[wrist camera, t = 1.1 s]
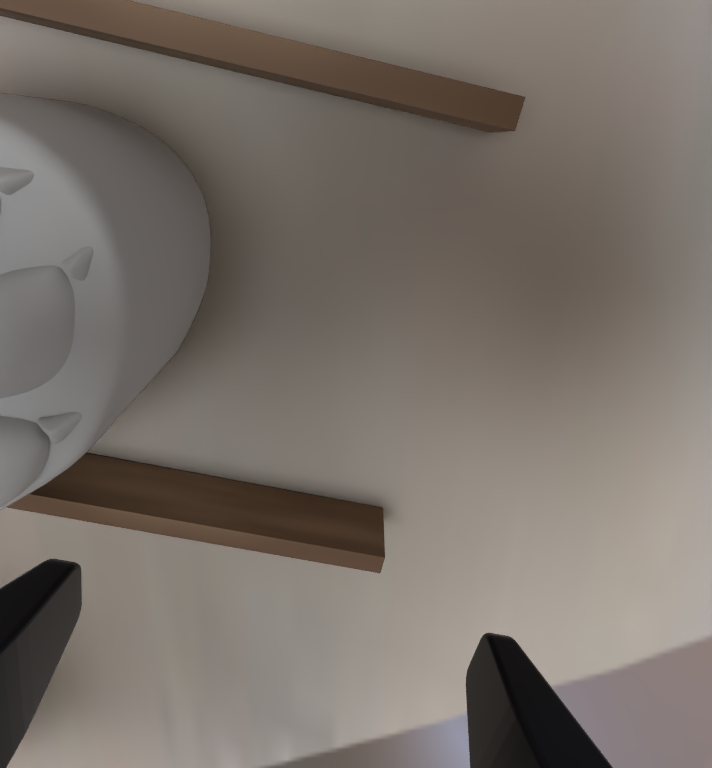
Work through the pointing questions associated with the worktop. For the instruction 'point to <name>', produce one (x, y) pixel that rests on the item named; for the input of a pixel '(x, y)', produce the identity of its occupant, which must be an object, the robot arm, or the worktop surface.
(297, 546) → the guide rails
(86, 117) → the lumpy-topped squat cylinder
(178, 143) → the worktop surface
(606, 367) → the worktop surface
